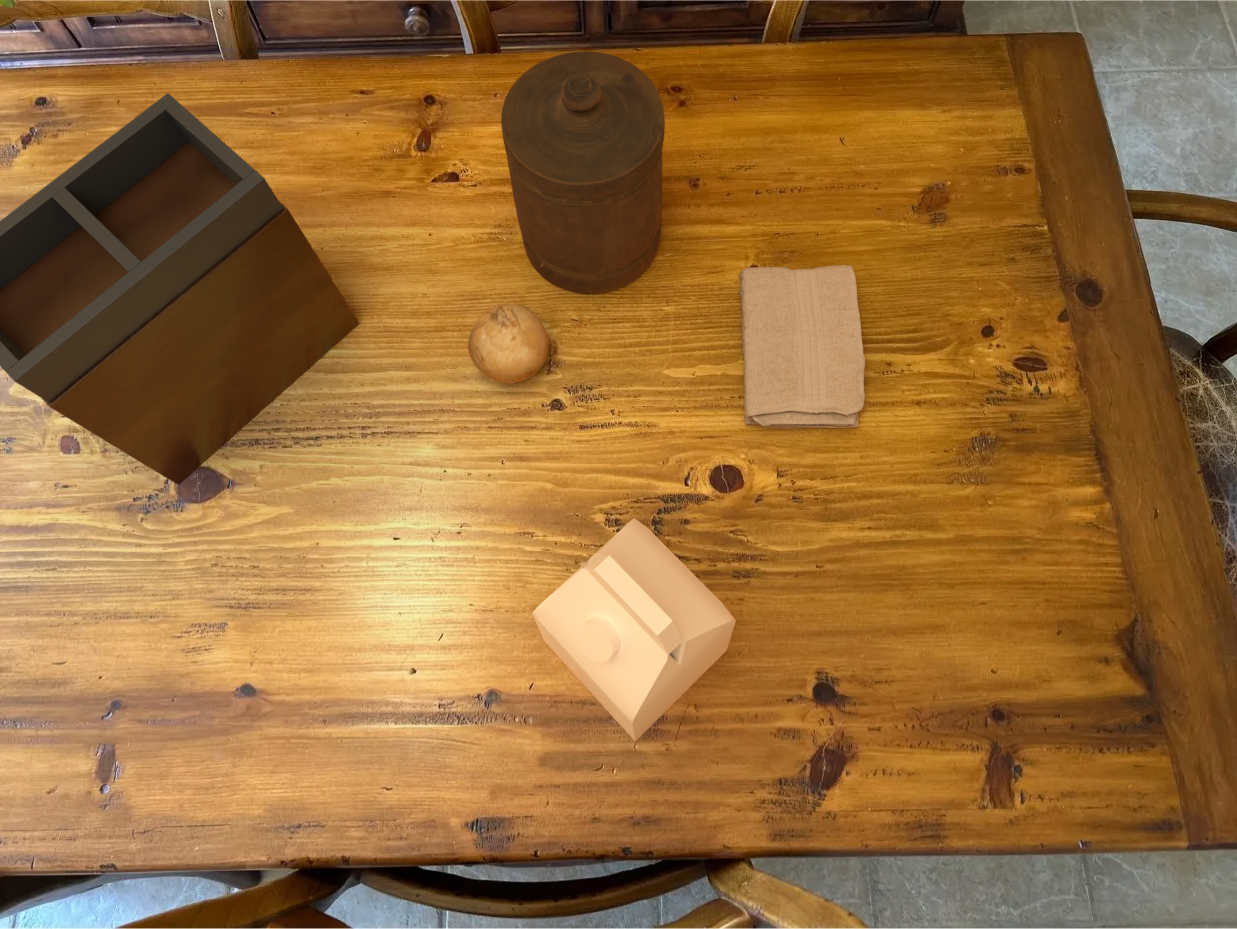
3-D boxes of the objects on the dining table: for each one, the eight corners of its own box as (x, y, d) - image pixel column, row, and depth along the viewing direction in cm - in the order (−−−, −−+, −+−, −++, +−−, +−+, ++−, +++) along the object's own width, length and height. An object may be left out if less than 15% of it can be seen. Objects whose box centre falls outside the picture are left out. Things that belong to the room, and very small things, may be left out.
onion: (567, 361, 90) (561, 328, 83) (505, 407, 89) (494, 378, 82) (519, 307, 92) (510, 272, 85) (458, 352, 91) (443, 319, 84)
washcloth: (743, 434, 87) (746, 422, 84) (734, 274, 93) (737, 258, 90) (864, 433, 87) (872, 421, 84) (848, 272, 93) (855, 256, 90)
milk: (726, 650, 80) (764, 600, 56) (635, 741, 78) (632, 731, 53) (635, 557, 83) (633, 470, 59) (544, 642, 81) (502, 589, 56)
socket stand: (99, 402, 90) (-45, 305, 71) (280, 250, 95) (191, 122, 76) (178, 485, 87) (49, 407, 68) (360, 323, 92) (288, 208, 73)
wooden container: (659, 174, 97) (665, 13, 76) (662, 294, 92) (668, 156, 71) (525, 177, 97) (494, 16, 77) (520, 296, 93) (485, 159, 72)
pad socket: (-41, 306, 71) (-79, 280, 67) (191, 125, 76) (167, 92, 72) (49, 402, 68) (14, 381, 64) (283, 208, 73) (264, 177, 69)
